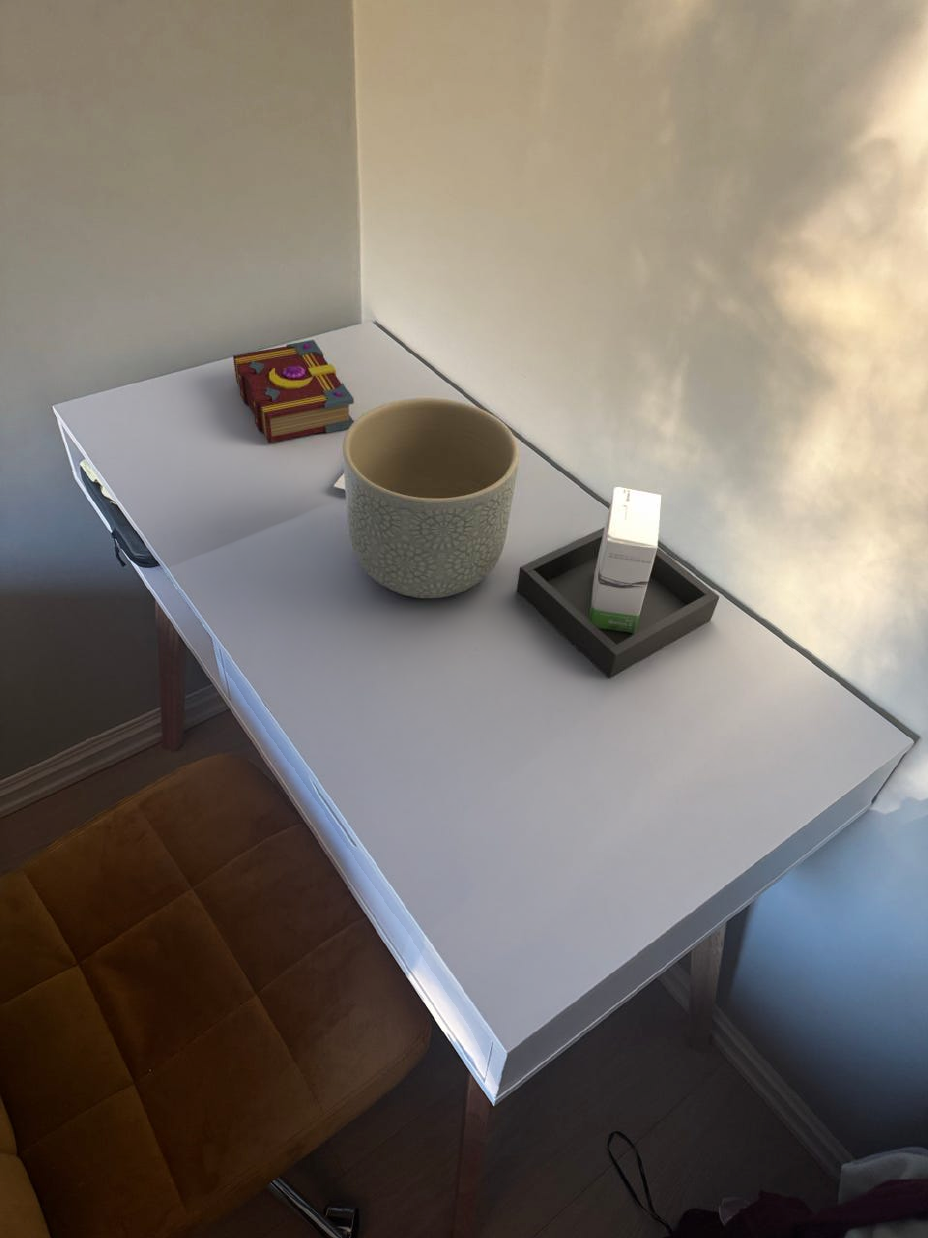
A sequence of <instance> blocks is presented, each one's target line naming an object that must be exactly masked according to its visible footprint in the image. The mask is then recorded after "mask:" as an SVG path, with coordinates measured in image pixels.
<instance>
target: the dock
mask: <svg viewBox="0 0 928 1238" xmlns="http://www.w3.org/2000/svg"><path fill="white" fill-rule="evenodd" d="M604 529H605V526H604V527H601V528H599V529H597V530H596V531H593V532H591V533H589V534H587V535H584V536H583V537H581V538H577V539H576V540H575V541H572V542H570V543H568V544H566V545H563V546H561V547H559V548H558V549H555V550H553V551H551V552H549V553H546V554H545V555H543V556H541V557H538V558H536V559H534V560H532V561H530V562H527V563H526V564H523V565H521V566H520V567H519V572H518V577H517V586H516V592H517V593H518V594H519V596H520V597H522V598H523V599H524V600H525V601H526V602H527V603H528V604H529V605H530V606H531V607H533V609H535V610H536V611H537V612H538V614H540V615H541V616H542V617H543V618H544V619H545V620H547V622H549V623H550V625H552V627H554V628H555V629H556V630H557V631H558V632H559V633H560V634H561V635H562V636H563V637H564V638H565V639H566V640H568V641H569V642H570V643H571V645H573V646H574V647H575V648H576V649H577V650H578V651H579V652H580V653H581V654H582V655H583V656H584V657H586V659H588V660H589V661H590V662H591V663H592V665H594V666H595V667H596V668H597V669H598V670H599V671H600V672H601V673H603V674H604V676H606V678H608V679H612V678H613V677H615V676H617V675H618V674H620V673H622V672H623V671H624V672H625V671H626V670H627V669H629V668H631V667H632V666H634V665H636V664H638V663H640V662H641V661H643V660H644V659H646V658H649V657H650V656H652V655H654V654H655V653H657V652H659V651H660V650H663V649H664V648H665V647H667V646H669V645H670V644H672V643H674V642H676V641H677V640H679V639H681V638H683V637H685V636H687V635H688V634H690V633H691V632H693V631H695V630H696V629H699V628H700V627H703V626H704V625H706V624H707V623H709V622H711V621H712V618H713V616H714V613H715V610H716V607H717V605H718V602H719V599H720V595H718V594H717V593H716V592H715V591H713V590H712V589H710V587H708V586H707V585H705V584H704V583H703V582H702V581H700V580H699V579H698V578H697V577H696V576H695V575H693V574H692V573H690V572H689V571H688V570H687V569H685V568H684V567H683V566H682V565H681V564H680V563H678V562H677V561H676V560H674V559H673V558H671V556H670V555H668V554H666V552H664V551H663V550H662V549H660V548H659V546H658V547H657V551H656V555H655V558H654V562H653V566H652V570H651V573H650V577H649V581H648V584H647V588H646V592H645V595H644V599H643V603H642V607H641V611H640V614H639V617H638V621H637V624H636V628H635V631H634V633H628V632H621V631H614V630H608V629H602V628H597V627H596V626H595V625H594V624H593V623H592V622H591V621H590V620H589V615H590V606H591V597H592V588H593V579H594V573H595V569H596V564H597V560H598V555H599V551H600V546H601V542H602V538H603V533H604Z"/></svg>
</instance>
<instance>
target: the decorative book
mask: <svg viewBox="0 0 928 1238" xmlns="http://www.w3.org/2000/svg"><path fill="white" fill-rule="evenodd" d="M232 359H233V360H232V361H233V368H234V374H235V381H236V384H237V386H238V387H239V391H240V392H239V393H240V398H241V399H242V401H243V403H244V404H245V405H246V404H248V406H249V408H250V410H251V412H252V414H253V415H254V416H253V417H254V423H255V425H256V428H257V429H258V431H259V433H262V432H263V434H264V436H265V438H266V440H267V442H268V443H269V444H270V443H274V442H280V441H284V440H290V439H294V438H299V437H303V436H304V437H305V436H309V435H313V434H318V433H323V432H325V433H332V432H337V431H342V430H346V429H347V430H348V429H349V427H350V426H351V425H352V424H353V423H354V422H355V421H354V419H353V418H352V416H351V415H350V405H353V404H354V401H355V400H354V399H355V398H354V397H353V395H352V393H351V392H350V391H349V390H348V388H347V387H346V385H345V384H344V383H343V382H341V381H340V379H339V378H338V377H337V370H336V368H335V367H334V365H333V364H332V363H328V361H327V360H326V359H325V357H324V353H323V352H322V350H321V349H320V347H319V345H318V344H317V343H316V341H315V340H314V339H311V340H310V339H309V340H305V341H299V342H294V343H288V344H286V346H281V347H274V348H268V349H263V350H256V351H252V352H246V353H240V354H234V355H232Z"/></svg>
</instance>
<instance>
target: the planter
mask: <svg viewBox="0 0 928 1238" xmlns="http://www.w3.org/2000/svg"><path fill="white" fill-rule="evenodd" d="M519 459H520V449H519V444H518V441H517V439H516V437H515V434H514V433H513V432H512V431H511V429H510V428H509V427H508V426H507V425H506V424H505V423H504V422H503V421H502V420H500V419H499V418H498V417H496V416H495V415H493V414H491V413H489V412H488V411H486V410H484V409H482V408H480V407H478V406H474V405H472V404H469V403H466V402H462V401H458V400H453V399H448V398H439V397H438V398H437V397H414V398H404V399H399V400H394V401H390V402H386V403H384V404H381V405H378V406H376V407H373V408H372V409H370V410H368V411H367V412H365V413H363V414H361V415H360V416H359V417H357V418H356V419H355V421H354V423H353V424H352V425H351V426H350V427H349V428H347V430H346V431H345V435H344V437H343V441H342V465H343V466H342V467H343V474H344V480H345V490H344V491H345V497H346V498H345V500H346V512H347V524H348V531H349V537H350V544H351V547H352V550H353V553H354V555H355V557H356V559H357V561H358V563H359V565H360V566H361V568H362V569H363V570H364V571H365V572H366V573H367V575H368V576H370V577H371V578H372V579H373V580H374V581H375V582H377V583H378V584H379V585H381V586H383V587H384V588H387V589H388V590H391V591H393V592H395V593H397V594H400V595H404V596H407V597H412V598H418V599H439V598H446V597H451V596H455V595H457V594H461V593H463V592H465V591H467V590H469V589H471V588H473V587H475V586H477V585H478V584H479V583H481V582H482V581H483V579H485V578H486V577H487V576H489V574H490V573H491V572H492V570H493V569H494V568H495V566H496V565H497V562H498V561H499V559H500V557H501V554H502V552H503V549H504V546H505V542H506V539H507V534H508V528H509V521H510V516H511V511H512V510H511V509H512V505H513V499H514V493H515V487H516V482H517V474H518V468H519V461H520V460H519Z"/></svg>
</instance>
